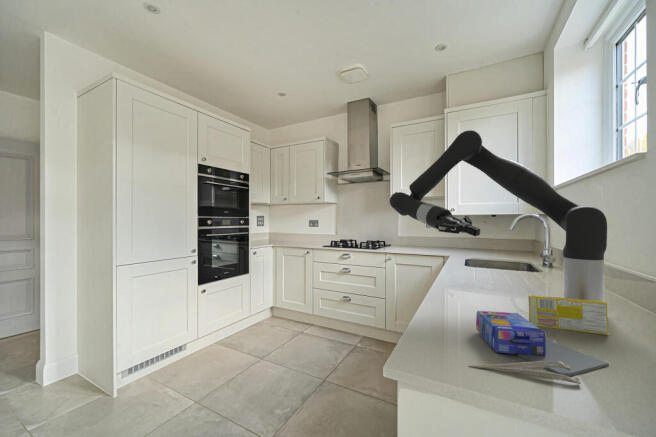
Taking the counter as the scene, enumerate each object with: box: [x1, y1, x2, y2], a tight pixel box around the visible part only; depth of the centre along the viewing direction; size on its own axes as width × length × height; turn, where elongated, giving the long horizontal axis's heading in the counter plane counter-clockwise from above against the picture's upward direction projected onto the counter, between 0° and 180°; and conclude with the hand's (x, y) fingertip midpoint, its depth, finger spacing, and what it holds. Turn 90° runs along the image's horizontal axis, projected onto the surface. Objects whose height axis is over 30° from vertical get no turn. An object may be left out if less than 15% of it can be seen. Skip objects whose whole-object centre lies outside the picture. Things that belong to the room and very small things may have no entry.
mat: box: [514, 338, 609, 377], centre depth 59 cm, size 13×15×1 cm
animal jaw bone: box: [468, 361, 582, 385], centre depth 51 cm, size 17×5×2 cm, turn 73°
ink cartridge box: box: [475, 310, 547, 356], centre depth 62 cm, size 10×6×14 cm
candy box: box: [528, 294, 610, 336], centre depth 72 cm, size 16×2×8 cm, turn 65°
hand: (478, 232), depth 79 cm, fingers closed
